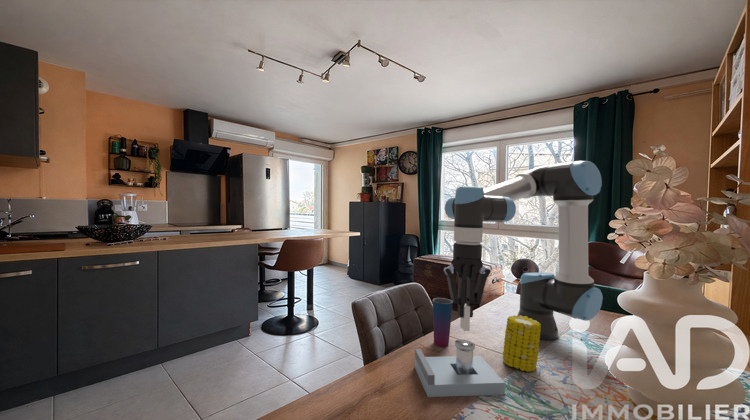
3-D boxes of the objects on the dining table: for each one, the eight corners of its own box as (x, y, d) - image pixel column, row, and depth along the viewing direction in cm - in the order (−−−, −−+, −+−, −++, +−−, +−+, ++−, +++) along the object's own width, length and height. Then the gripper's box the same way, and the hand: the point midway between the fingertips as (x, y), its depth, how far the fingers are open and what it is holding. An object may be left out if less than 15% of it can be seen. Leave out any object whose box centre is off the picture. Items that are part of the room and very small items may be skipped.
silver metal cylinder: (468, 374, 85) (469, 339, 85) (476, 385, 80) (478, 347, 80) (451, 374, 84) (452, 339, 84) (458, 385, 79) (459, 348, 79)
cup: (451, 349, 100) (453, 304, 100) (431, 346, 101) (432, 302, 101) (450, 340, 107) (452, 298, 107) (431, 338, 108) (432, 297, 108)
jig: (479, 365, 90) (480, 347, 90) (504, 394, 76) (505, 373, 76) (414, 367, 88) (415, 348, 88) (427, 397, 74) (428, 375, 74)
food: (496, 364, 94) (525, 364, 96) (520, 375, 83) (553, 375, 84) (494, 313, 98) (522, 314, 99) (516, 317, 86) (547, 318, 88)
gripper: (484, 242, 86) (481, 323, 86) (440, 240, 85) (437, 323, 85) (497, 245, 79) (494, 334, 79) (449, 244, 78) (446, 334, 78)
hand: (464, 328), depth 82 cm, fingers closed
